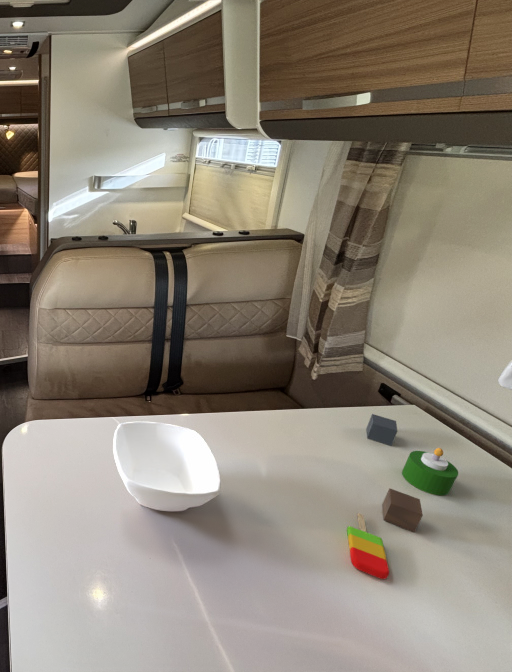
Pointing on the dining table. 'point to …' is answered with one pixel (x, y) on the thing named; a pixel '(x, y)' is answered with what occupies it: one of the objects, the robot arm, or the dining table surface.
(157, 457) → the bowl
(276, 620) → the dining table surface
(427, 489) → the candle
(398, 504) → the walnut block
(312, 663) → the dining table surface
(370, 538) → the popsicle
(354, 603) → the dining table surface
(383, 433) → the slate block
